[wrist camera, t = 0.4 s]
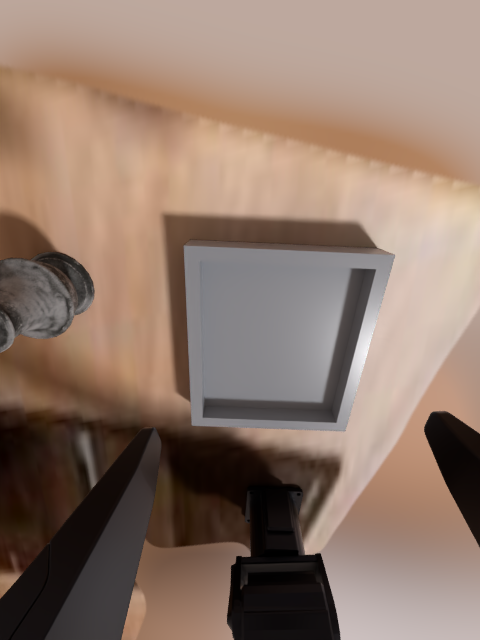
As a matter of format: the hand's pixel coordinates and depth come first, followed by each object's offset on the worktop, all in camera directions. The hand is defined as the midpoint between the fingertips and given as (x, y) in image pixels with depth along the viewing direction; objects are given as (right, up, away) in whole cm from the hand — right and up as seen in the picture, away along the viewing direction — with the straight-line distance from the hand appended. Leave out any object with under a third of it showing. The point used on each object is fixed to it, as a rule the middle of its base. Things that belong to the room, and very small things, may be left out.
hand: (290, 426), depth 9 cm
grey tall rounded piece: (-16, +6, +13) cm, 22 cm away
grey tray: (+1, +2, +15) cm, 15 cm away
